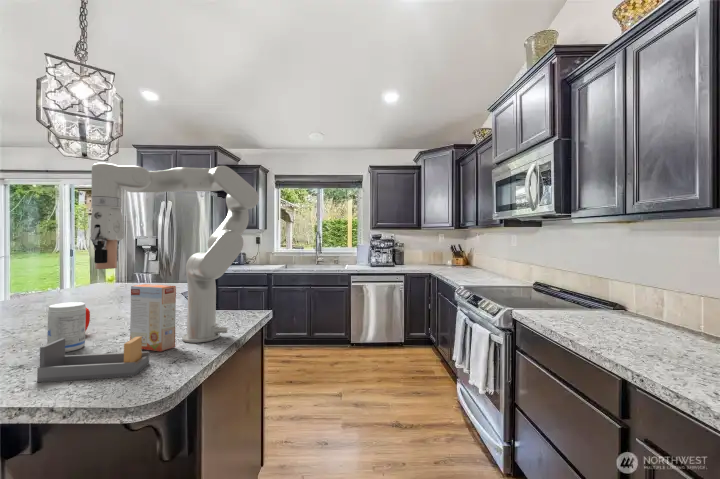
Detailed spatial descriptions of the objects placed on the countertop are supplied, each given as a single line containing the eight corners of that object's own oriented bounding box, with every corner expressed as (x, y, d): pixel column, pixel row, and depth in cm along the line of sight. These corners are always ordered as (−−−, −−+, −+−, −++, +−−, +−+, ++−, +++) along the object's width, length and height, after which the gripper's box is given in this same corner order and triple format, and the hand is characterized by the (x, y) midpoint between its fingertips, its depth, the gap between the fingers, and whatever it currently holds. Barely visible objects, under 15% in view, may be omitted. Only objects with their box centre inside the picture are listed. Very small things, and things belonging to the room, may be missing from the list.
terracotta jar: (121, 267, 109) (121, 235, 109) (111, 269, 104) (112, 235, 104) (100, 267, 108) (101, 235, 108) (90, 269, 102) (90, 235, 102)
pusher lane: (149, 363, 100) (149, 334, 100) (133, 376, 90) (134, 343, 90) (62, 368, 95) (63, 337, 95) (37, 382, 86) (37, 348, 86)
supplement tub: (44, 349, 112) (45, 304, 112) (81, 343, 119) (82, 300, 119) (50, 355, 106) (50, 308, 106) (88, 348, 113) (89, 304, 113)
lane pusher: (141, 360, 98) (141, 336, 98) (129, 369, 91) (130, 343, 91) (135, 361, 98) (136, 336, 98) (123, 370, 91) (124, 343, 91)
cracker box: (176, 347, 115) (177, 285, 115) (160, 352, 109) (161, 287, 110) (145, 343, 120) (146, 283, 120) (129, 348, 114) (129, 285, 114)
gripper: (105, 201, 98) (105, 264, 98) (133, 207, 115) (132, 260, 115) (75, 200, 97) (75, 264, 97) (108, 206, 114) (107, 260, 114)
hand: (106, 261), depth 106 cm, fingers closed on terracotta jar, 5 cm apart
